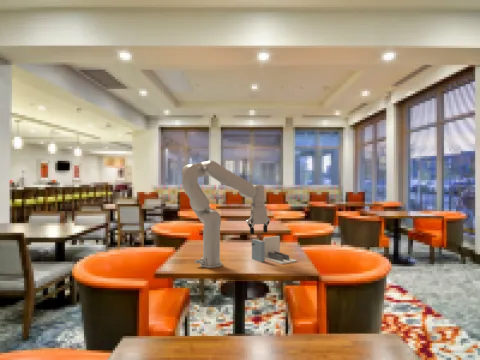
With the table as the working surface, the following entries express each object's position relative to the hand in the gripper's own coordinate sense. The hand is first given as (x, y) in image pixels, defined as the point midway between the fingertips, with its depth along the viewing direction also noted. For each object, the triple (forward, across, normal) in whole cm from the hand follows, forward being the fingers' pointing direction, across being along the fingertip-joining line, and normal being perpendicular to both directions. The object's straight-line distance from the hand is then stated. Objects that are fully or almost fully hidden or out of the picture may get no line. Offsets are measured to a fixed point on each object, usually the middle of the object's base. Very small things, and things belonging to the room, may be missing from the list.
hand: (258, 233), depth 190 cm
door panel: (+16, -1, 0) cm, 16 cm away
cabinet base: (+17, +11, -6) cm, 21 cm away
